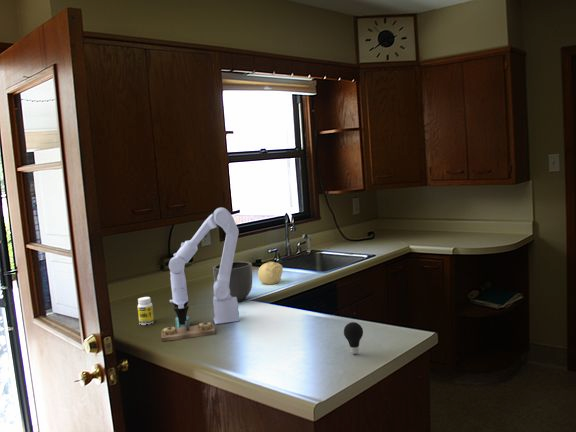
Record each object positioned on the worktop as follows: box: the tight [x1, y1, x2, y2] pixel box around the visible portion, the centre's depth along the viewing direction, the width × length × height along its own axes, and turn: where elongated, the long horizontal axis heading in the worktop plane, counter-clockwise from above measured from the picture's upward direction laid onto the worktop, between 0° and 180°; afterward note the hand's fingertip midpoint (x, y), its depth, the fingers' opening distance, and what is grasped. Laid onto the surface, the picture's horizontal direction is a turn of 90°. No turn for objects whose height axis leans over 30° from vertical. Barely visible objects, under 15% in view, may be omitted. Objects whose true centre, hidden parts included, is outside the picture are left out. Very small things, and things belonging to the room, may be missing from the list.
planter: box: [212, 260, 253, 303], centre depth 244 cm, size 17×17×16 cm
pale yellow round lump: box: [257, 261, 284, 285], centre depth 273 cm, size 12×12×11 cm
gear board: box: [160, 320, 216, 342], centre depth 202 cm, size 19×10×5 cm, turn 103°
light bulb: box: [343, 321, 364, 355], centre depth 167 cm, size 6×6×10 cm
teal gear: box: [174, 315, 191, 328], centre depth 212 cm, size 5×5×3 cm
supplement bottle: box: [137, 296, 155, 326], centre depth 220 cm, size 6×6×10 cm
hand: (182, 322), depth 212 cm, fingers closed on teal gear, 5 cm apart
